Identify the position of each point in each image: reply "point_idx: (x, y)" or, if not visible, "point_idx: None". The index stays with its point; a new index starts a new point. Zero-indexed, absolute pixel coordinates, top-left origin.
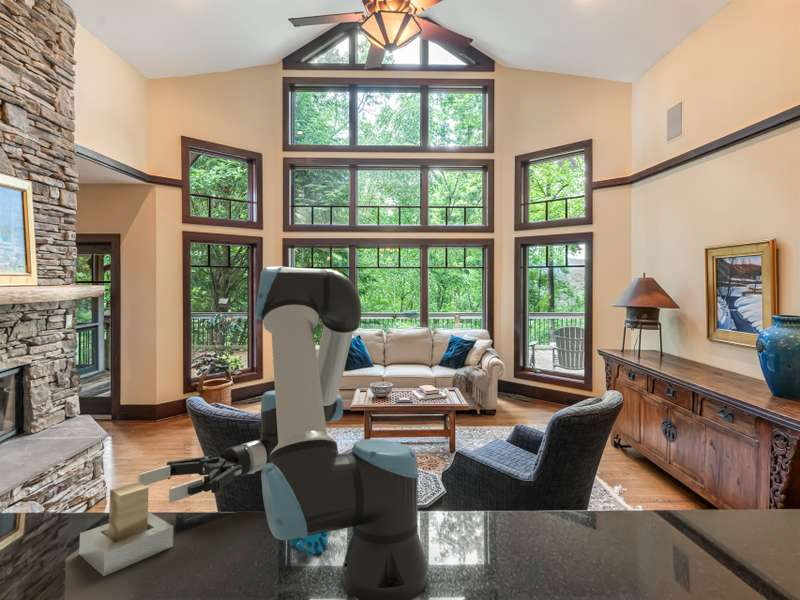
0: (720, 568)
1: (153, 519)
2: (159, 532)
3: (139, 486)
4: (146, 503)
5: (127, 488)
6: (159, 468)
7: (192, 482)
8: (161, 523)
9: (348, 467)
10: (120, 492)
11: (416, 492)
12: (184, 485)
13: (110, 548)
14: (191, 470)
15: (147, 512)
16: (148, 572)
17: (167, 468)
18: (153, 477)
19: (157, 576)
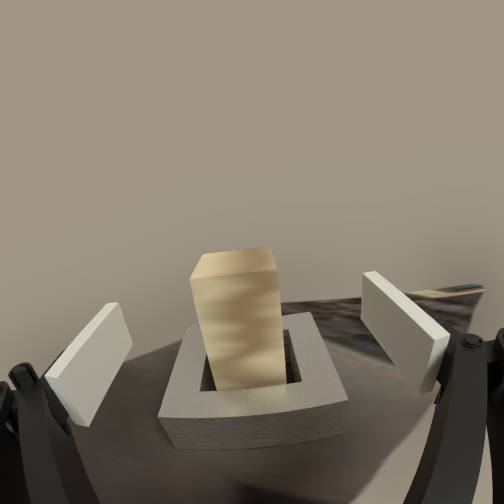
0: None
1: (255, 403)
2: (166, 391)
3: (224, 269)
4: (201, 322)
5: (239, 258)
6: (411, 308)
7: (70, 347)
8: (205, 408)
9: None
10: (225, 253)
11: None
12: (86, 329)
13: (194, 331)
14: (415, 483)
15: (206, 348)
16: (137, 390)
17: (421, 338)
18: (384, 324)
19: (114, 391)
